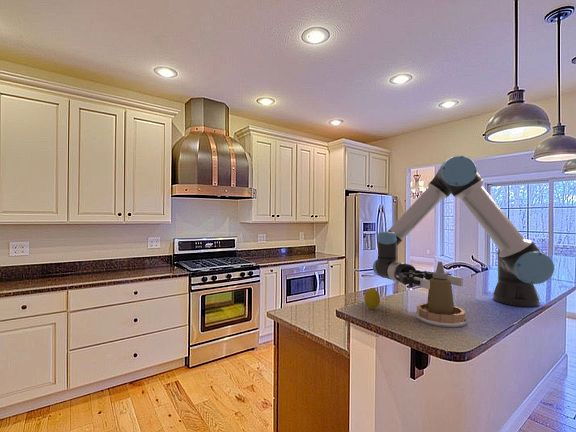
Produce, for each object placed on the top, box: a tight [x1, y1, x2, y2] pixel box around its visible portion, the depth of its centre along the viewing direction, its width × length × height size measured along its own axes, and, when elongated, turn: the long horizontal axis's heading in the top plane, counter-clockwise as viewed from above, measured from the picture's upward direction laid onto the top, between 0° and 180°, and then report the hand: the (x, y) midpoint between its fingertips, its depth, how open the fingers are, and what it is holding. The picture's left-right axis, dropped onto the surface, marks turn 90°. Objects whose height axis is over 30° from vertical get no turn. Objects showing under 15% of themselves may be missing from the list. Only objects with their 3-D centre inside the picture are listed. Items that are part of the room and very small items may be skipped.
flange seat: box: [415, 302, 467, 329], centre depth 102 cm, size 15×15×4 cm
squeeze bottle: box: [426, 261, 455, 314], centre depth 102 cm, size 8×8×18 cm
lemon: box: [364, 287, 381, 310], centre depth 114 cm, size 6×6×8 cm
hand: (445, 283), depth 100 cm, fingers open, 13 cm apart
